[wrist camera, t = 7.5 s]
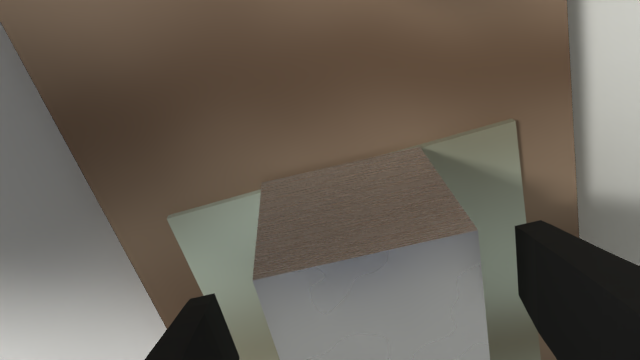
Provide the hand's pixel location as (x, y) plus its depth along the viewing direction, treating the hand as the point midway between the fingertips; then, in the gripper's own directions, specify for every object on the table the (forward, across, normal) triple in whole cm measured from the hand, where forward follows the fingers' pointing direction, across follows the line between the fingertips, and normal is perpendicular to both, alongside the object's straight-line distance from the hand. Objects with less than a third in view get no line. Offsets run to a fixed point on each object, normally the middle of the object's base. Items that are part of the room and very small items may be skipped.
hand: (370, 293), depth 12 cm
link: (+2, 0, +3) cm, 3 cm away
